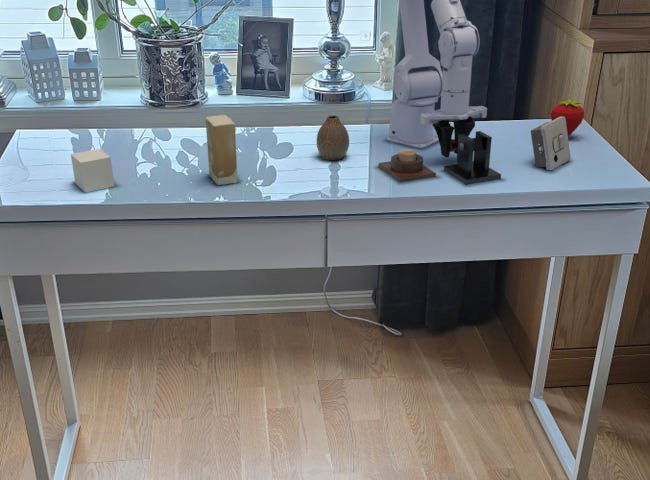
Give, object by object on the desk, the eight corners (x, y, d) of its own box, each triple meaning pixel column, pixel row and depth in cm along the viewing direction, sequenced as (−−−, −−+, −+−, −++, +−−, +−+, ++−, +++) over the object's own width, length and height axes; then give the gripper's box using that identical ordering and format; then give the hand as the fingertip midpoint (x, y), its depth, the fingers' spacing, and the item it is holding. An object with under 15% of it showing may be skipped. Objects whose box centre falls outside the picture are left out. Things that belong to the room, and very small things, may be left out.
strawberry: (544, 134, 206) (549, 90, 201) (576, 133, 206) (583, 89, 201) (551, 142, 201) (557, 97, 196) (584, 141, 201) (591, 96, 196)
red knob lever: (443, 152, 189) (442, 140, 188) (454, 151, 190) (453, 138, 189) (473, 151, 178) (471, 138, 177) (484, 150, 179) (483, 136, 178)
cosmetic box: (208, 175, 183) (204, 116, 176) (229, 172, 184) (225, 113, 178) (217, 186, 178) (213, 125, 171) (238, 183, 179) (235, 122, 173)
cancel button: (395, 158, 184) (395, 150, 183) (410, 156, 185) (411, 148, 184) (403, 164, 181) (403, 155, 180) (419, 161, 182) (419, 153, 181)
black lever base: (443, 171, 185) (446, 131, 181) (477, 165, 188) (480, 126, 183) (466, 185, 178) (469, 144, 174) (500, 179, 181) (504, 139, 176)
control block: (378, 167, 187) (378, 153, 185) (412, 162, 190) (412, 148, 188) (400, 183, 179) (401, 168, 178) (435, 177, 182) (436, 163, 180)
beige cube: (75, 183, 179) (70, 153, 176) (104, 177, 182) (100, 148, 179) (85, 192, 175) (80, 162, 172) (114, 186, 178) (110, 157, 175)
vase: (353, 154, 194) (353, 113, 189) (343, 164, 189) (343, 123, 184) (323, 150, 196) (322, 110, 191) (312, 160, 190) (311, 119, 186)
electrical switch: (550, 172, 184) (552, 127, 180) (527, 169, 187) (528, 124, 183) (570, 160, 191) (573, 116, 186) (548, 158, 194) (550, 114, 189)
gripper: (434, 98, 176) (430, 165, 183) (497, 90, 181) (491, 155, 188) (416, 89, 181) (414, 155, 188) (478, 81, 186) (473, 145, 193)
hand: (451, 154), depth 189 cm, fingers closed on red knob lever, 2 cm apart
